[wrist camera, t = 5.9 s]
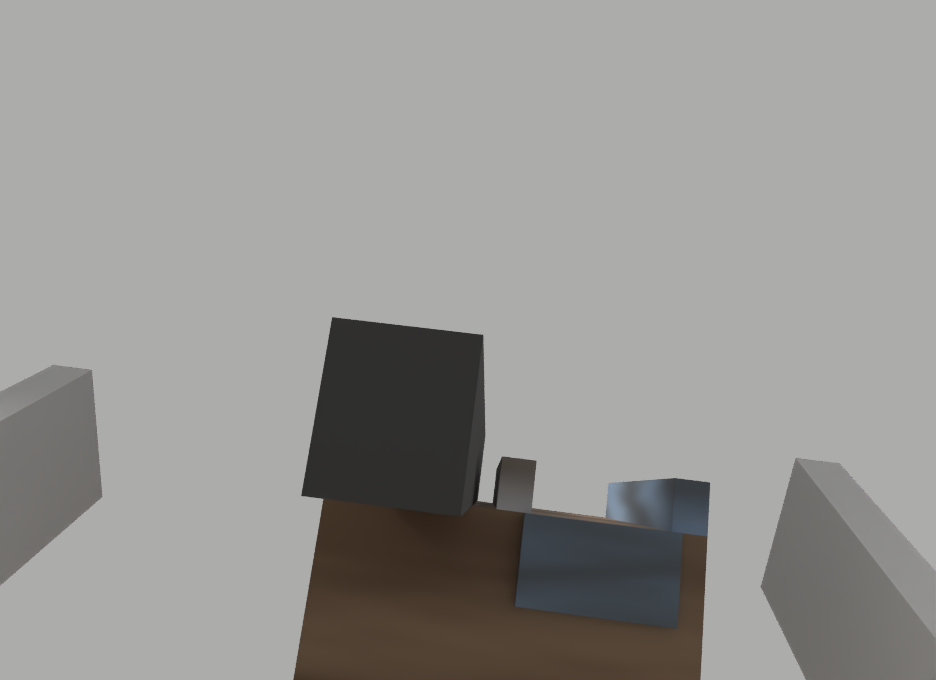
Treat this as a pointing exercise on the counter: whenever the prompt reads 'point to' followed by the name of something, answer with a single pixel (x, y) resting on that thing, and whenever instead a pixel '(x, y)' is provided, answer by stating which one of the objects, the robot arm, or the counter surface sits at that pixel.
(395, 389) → the bar
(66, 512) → the robot arm
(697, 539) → the wooden block tower
